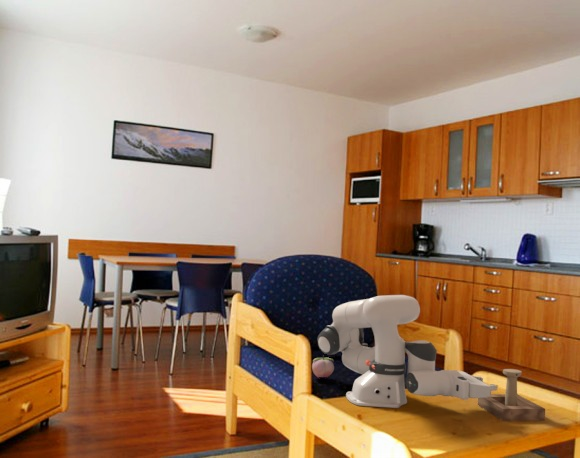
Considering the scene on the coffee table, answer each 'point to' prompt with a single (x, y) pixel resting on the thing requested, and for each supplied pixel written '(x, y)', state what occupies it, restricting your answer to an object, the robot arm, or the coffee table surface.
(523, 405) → the collar
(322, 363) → the decorative fruit
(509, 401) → the beige bolt
